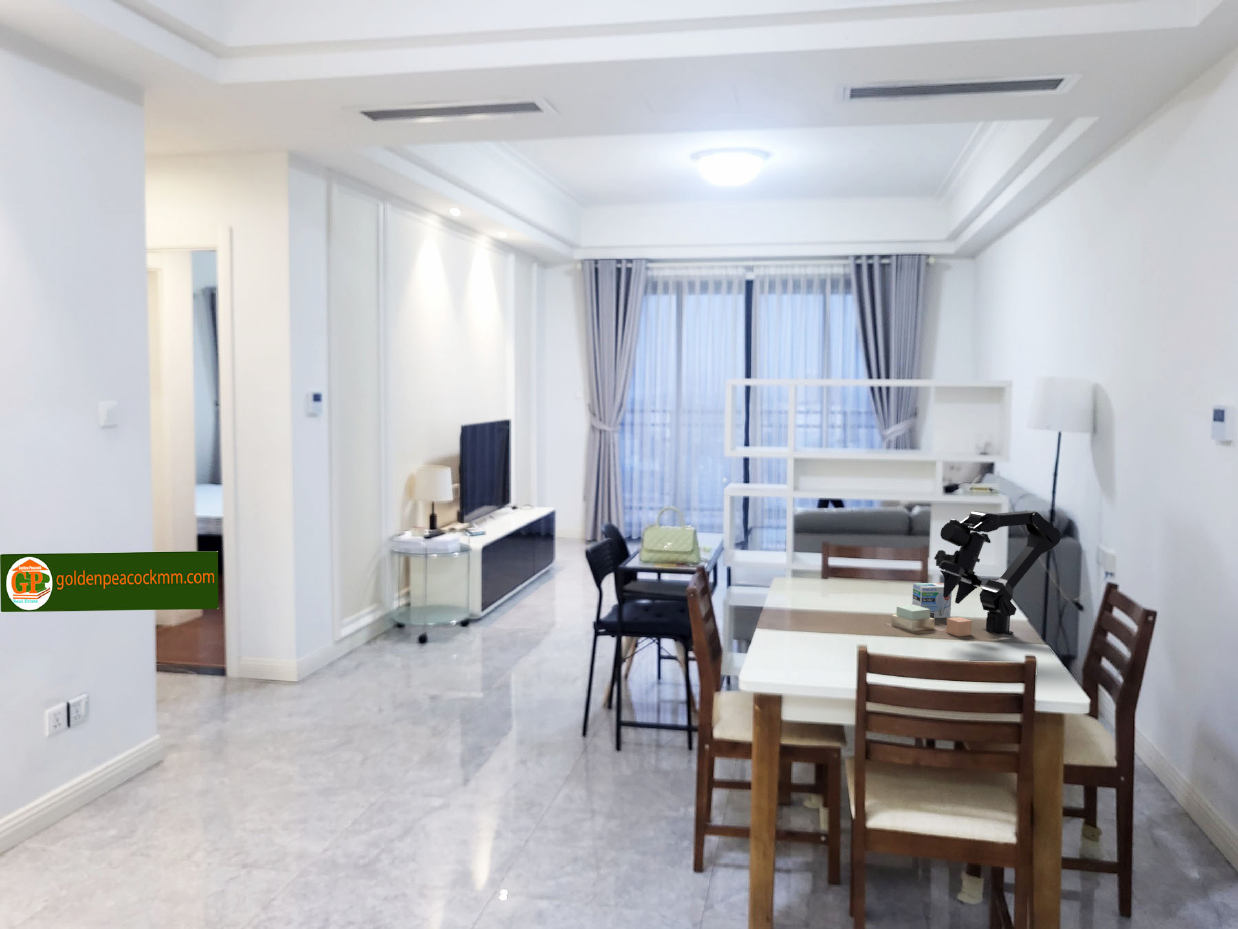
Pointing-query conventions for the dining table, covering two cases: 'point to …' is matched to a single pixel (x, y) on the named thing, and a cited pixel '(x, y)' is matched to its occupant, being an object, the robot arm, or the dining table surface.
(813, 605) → the dining table surface
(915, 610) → the sage block
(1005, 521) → the robot arm
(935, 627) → the walnut board
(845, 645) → the dining table surface
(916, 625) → the beech slab
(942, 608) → the light bulb box
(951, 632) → the terracotta cube
